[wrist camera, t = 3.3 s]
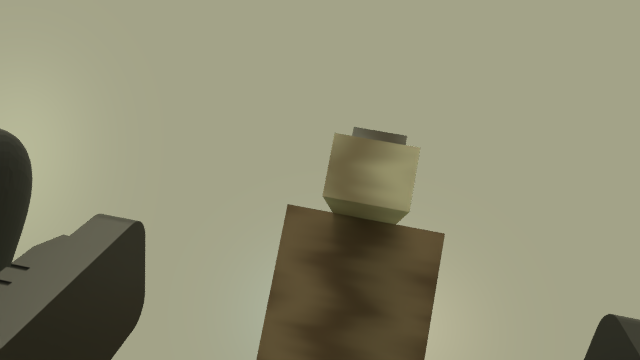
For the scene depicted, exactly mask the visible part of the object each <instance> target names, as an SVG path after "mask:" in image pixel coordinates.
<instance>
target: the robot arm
mask: <svg viewBox="0 0 640 360" xmlns="http://www.w3.org/2000/svg"><path fill="white" fill-rule="evenodd" d="M31 190H32V169H31V162H30V159H29V156H28V153H27V151H26V149H25V148H24V146H23V144H22V143H21V142H20V140H19V139H18V138H16V137H15V136H14V135H12V134H11V133H9V132H7V131H5V130H2V129H0V360H111V359H112V357H113V356H114V355H115V353H116V352H117V351H118V349H119V348H120V347H121V345H122V344H123V343H124V341H125V340H126V339H127V337H128V336H129V335H130V333H131V332H132V331H133V329H134V328H135V326H136V324H137V322H138V320H139V317H140V315H141V311H142V308H143V304H144V297H145V229H144V226H143V224H142V223H141V222H140V221H135V220H130V219H125V218H120V217H114V216H109V215H104V214H97V215H95V216H94V217H93V218H91V219H90V220H89V221H87V222H86V223H85V224H84V225H83V226H81V227H80V228H79V229H78V230H76V231H75V232H74V233H73V234H71V235H70V236H66V235H61V236H59V237H56V238H54V239H52V240H49V241H46V242H44V243H41V244H39V245H36V246H34V247H32V248H31V249H30V250H28V251H27V252H26V253H25V254H23V255H22V256H20V257H19V258H18V259H16V260H15V261H14V262H12V260H13V257H14V254H15V251H16V248H17V245H18V242H19V239H20V236H21V233H22V230H23V226H24V223H25V220H26V216H27V212H28V207H29V203H30V198H31ZM584 360H640V320H638V319H633V318H628V317H623V316H618V315H613V314H608V315H606V316H604V317H603V318H602V319H601V321H600V323H599V325H598V327H597V329H596V332H595V334H594V336H593V339H592V341H591V344H590V346H589V349H588V351H587V354H586V356H585V358H584Z"/></svg>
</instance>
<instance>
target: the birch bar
mask: <svg viewBox="0 0 640 360" xmlns="http://www.w3.org/2000/svg"><path fill="white" fill-rule="evenodd" d="M406 138H407V136H404V135H398V134H392V133H387V132H380V131H375V130H368V129H363V128H357V127H354V129H353V135H352V136H349V135H343V134H337V133H335V134H334V140H333V145H332V150H331V155H330V160H329V165H328V171H327V176H326V181H325V186H324V191H323V197H324V199H325V201H326V202H327V204H328V205H329V207H330V209H331V211H332V212H333V213H337V214H342V215H348V216H353V217H358V218H364V219H369V220H374V221H380V222H385V223H390V224H397V223H398V222H399V221H400V220H401V219H402V218H403V217H404V216H405V215H407V214H408V213H409V211H410V205H411V200H412V194H413V188H414V182H415V176H416V170H417V165H418V159H419V153H420V148H419V147H413V146H407V145H406Z"/></svg>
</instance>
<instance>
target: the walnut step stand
mask: <svg viewBox="0 0 640 360" xmlns="http://www.w3.org/2000/svg"><path fill="white" fill-rule="evenodd" d="M444 235H445V234H444V233H438V232H433V231H428V230H422V229H417V228H411V227H406V226H401V225H396V224H390V223H385V222H380V221H374V220H369V219H364V218H358V217H353V216H348V215H342V214H337V213H332V212H326V211H321V210H316V209H310V208H305V207H300V206H294V205H289V204H288V205H287V211H286V216H285V220H284V226H283V230H282V235H281V240H280V245H279V250H278V256H277V260H276V265H275V270H274V275H273V280H272V285H271V290H270V295H269V300H268V305H267V310H266V315H265V320H264V325H263V330H262V335H261V340H260V345H259V350H258V355H257V360H424V358H425V352H426V346H427V340H428V334H429V328H430V321H431V315H432V309H433V303H434V297H435V291H436V284H437V278H438V271H439V266H440V260H441V254H442V248H443V241H444Z"/></svg>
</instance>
